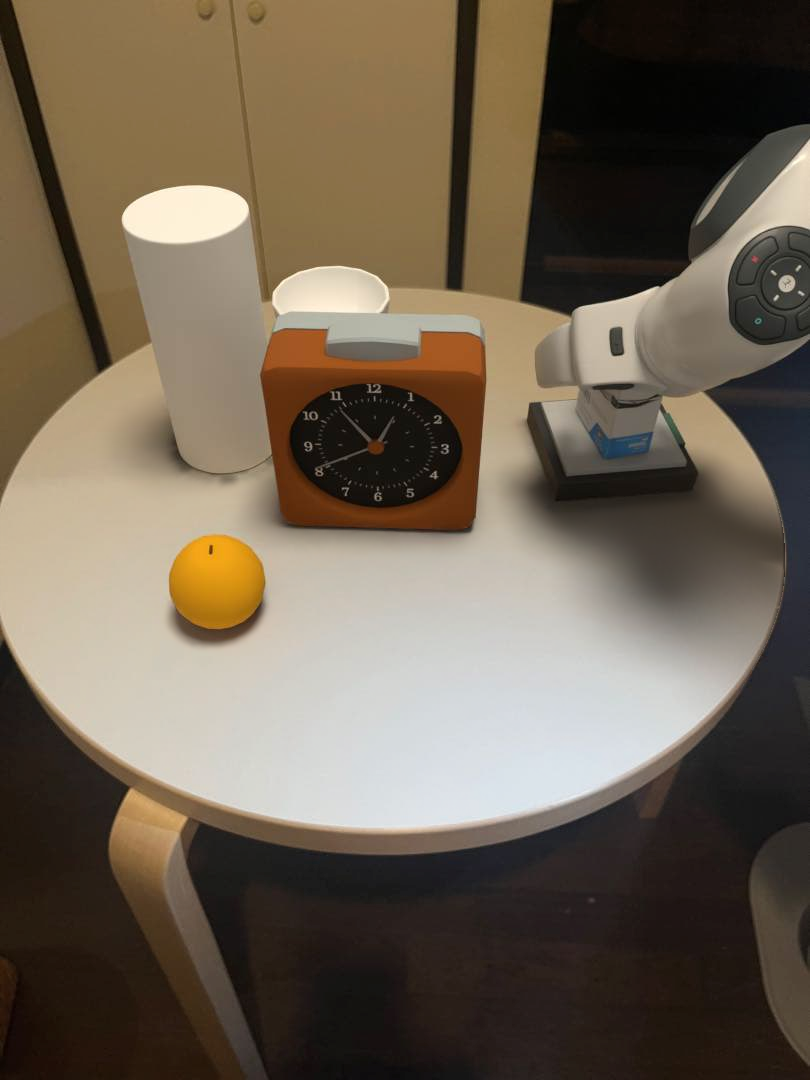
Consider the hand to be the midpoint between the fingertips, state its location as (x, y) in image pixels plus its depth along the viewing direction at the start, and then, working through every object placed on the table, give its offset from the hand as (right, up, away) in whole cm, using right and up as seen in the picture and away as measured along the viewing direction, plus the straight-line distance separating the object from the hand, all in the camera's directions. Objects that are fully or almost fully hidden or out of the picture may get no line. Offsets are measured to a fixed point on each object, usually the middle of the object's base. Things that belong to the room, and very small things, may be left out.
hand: (625, 370), depth 82 cm
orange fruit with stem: (-37, -22, -7) cm, 44 cm away
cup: (-29, +2, +16) cm, 33 cm away
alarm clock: (-23, -12, +3) cm, 27 cm away
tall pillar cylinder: (-40, -6, +9) cm, 41 cm away
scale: (0, -7, +7) cm, 10 cm away
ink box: (0, -5, +5) cm, 7 cm away
